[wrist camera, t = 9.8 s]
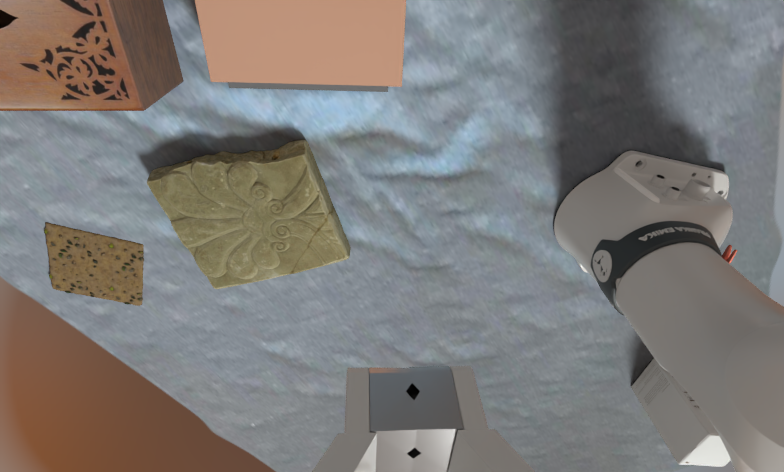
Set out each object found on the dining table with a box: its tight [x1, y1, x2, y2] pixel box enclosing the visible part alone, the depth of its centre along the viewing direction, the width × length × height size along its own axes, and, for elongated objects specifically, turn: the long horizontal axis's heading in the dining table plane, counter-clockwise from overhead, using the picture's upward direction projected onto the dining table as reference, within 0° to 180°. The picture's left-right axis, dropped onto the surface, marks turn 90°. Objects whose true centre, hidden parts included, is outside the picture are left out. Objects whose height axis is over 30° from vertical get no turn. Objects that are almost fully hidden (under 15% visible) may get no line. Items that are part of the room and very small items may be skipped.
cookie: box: [44, 222, 144, 306], centre depth 58 cm, size 12×12×1 cm
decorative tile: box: [147, 140, 350, 289], centre depth 54 cm, size 19×20×4 cm
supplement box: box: [631, 358, 731, 467], centre depth 73 cm, size 9×9×15 cm
